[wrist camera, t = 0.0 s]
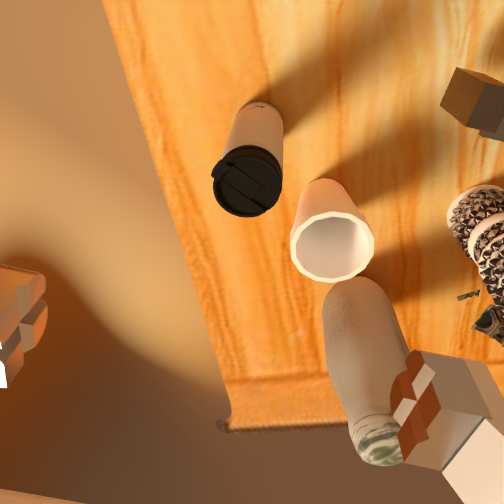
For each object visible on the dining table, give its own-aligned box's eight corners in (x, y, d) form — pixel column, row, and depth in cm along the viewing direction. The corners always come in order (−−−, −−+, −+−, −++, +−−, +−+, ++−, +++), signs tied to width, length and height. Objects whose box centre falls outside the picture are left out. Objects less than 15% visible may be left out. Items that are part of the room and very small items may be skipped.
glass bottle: (358, 324, 72) (394, 496, 48) (307, 296, 69) (319, 462, 45) (400, 285, 67) (462, 453, 43) (347, 253, 64) (383, 413, 41)
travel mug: (252, 88, 53) (236, 139, 36) (293, 121, 55) (297, 186, 38) (222, 128, 56) (194, 193, 39) (263, 159, 57) (253, 234, 41)
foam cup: (328, 153, 56) (339, 195, 45) (372, 200, 60) (391, 250, 49) (275, 198, 60) (273, 247, 49) (318, 240, 64) (325, 295, 53)
